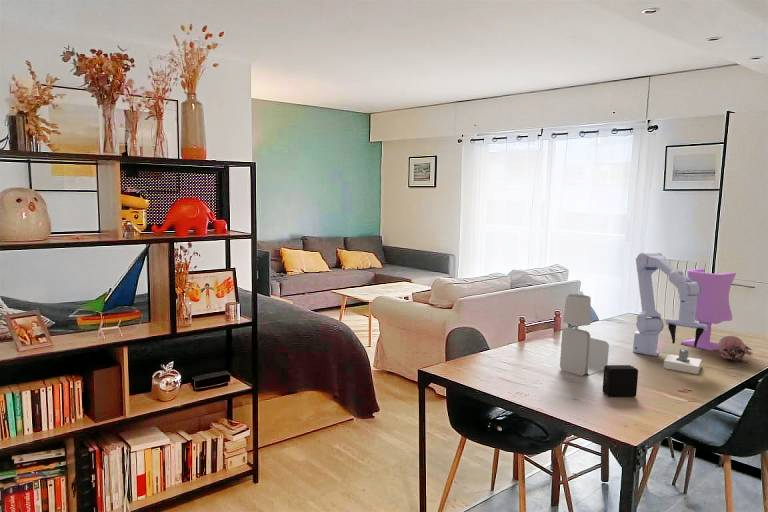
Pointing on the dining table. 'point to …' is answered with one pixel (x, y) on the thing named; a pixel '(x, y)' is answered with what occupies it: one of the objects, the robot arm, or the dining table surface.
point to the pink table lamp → (710, 304)
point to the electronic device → (620, 381)
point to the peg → (683, 355)
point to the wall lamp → (581, 339)
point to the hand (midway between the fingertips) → (684, 344)
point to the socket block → (682, 364)
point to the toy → (733, 348)
